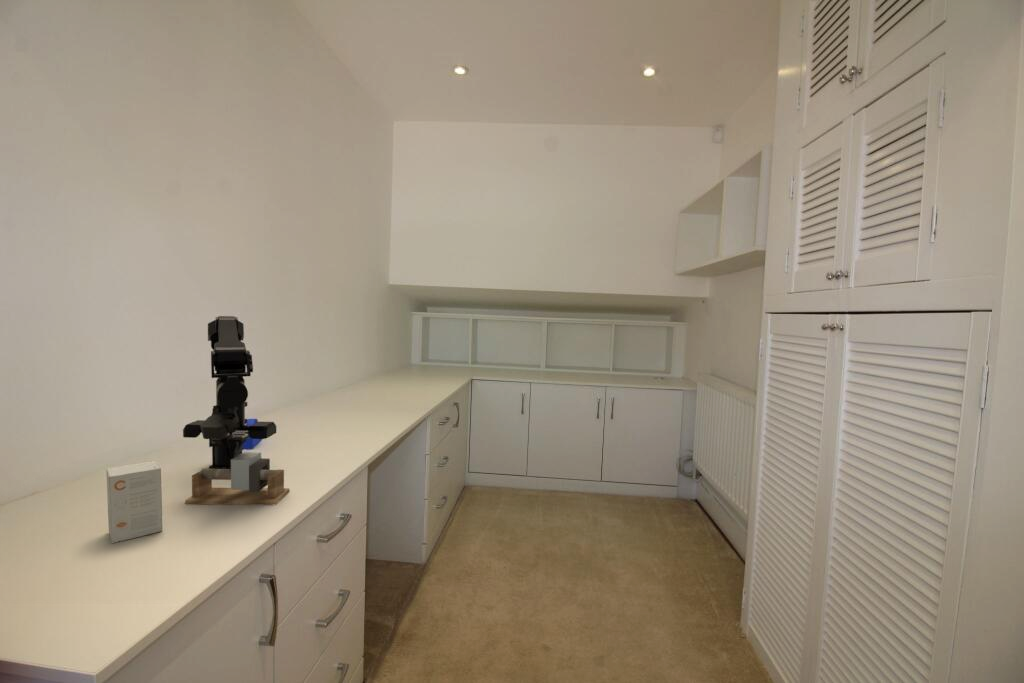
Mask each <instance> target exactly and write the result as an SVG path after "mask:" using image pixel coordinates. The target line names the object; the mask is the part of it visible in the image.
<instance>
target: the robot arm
mask: <svg viewBox="0 0 1024 683" xmlns="http://www.w3.org/2000/svg"><path fill="white" fill-rule="evenodd" d="M244 328H245V326H244V323H243V322H241V321H239V318H238V317H237V316H234V315H232V316H231V315H224V316H223V315H218V316H216V317H215V319H214V320H212V321H210V322H208V323H207V341H208V342H210V347H211V349H212V350H210V366H211V367H210V368H211V371H210V372H211V373H210V374H211V379H215V378H216V380H215V388H216V389H215V392H216V393H215V394H216V397H215V398H216V399H215V400H216V404H215V405H213V407H212V412H211V415H210V416H208V417H207V418H206V419H204V420H202V419H201V420H200V419H198V420H195V421H192V422H190V423H187V424H185V425H184V427H183V428H182V437H183V438H192V439H193V438H198V437H199V436H200V435H201V433H202V437H203V439H205V440H208V446H209V448H211V451H212V452H211V461H212V462H211V463H212V464H210V465H209V466H208V469H231V459H233V458H235V457H237V456H238V455H240V454H242V453H243V450H242V446H243V444H244V442H246V439H247V438H249V437H250V438H251V439H262V440H266V439H268V438H270V437H272V436H273V435H275V434H277V425H276V423H275V422H274V421H258V422H257V423H255V424H253V425H246V423H247V420H248V418H246V410H245V409H246V407H248V401H247V399H248V396H249V391H248V389H247V387H246V384H245V381H246V380H245V379H244V377H251V373H253V372H254V365H253V357H252V356H253V355H252V354H251V352H250V351H249V350H247V348H246V343H245V342H243V341H244V338H245V330H244Z"/></svg>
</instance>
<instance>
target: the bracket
mask: <svg viewBox="0 0 1024 683" xmlns="http://www.w3.org/2000/svg"><path fill="white" fill-rule="evenodd" d="M257 422H259V420H258V419H257V418H247V423H246V424H245V425H253V424H255V423H257ZM262 440H263V439H251V438H250V437H249V438H247V439H246V442H244V444H243V446H242V451H243V450H244V449H246V450H254V448H255V447H256V446H258V445H259V444H260V442H261V441H262ZM244 451H245V450H244Z"/></svg>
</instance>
